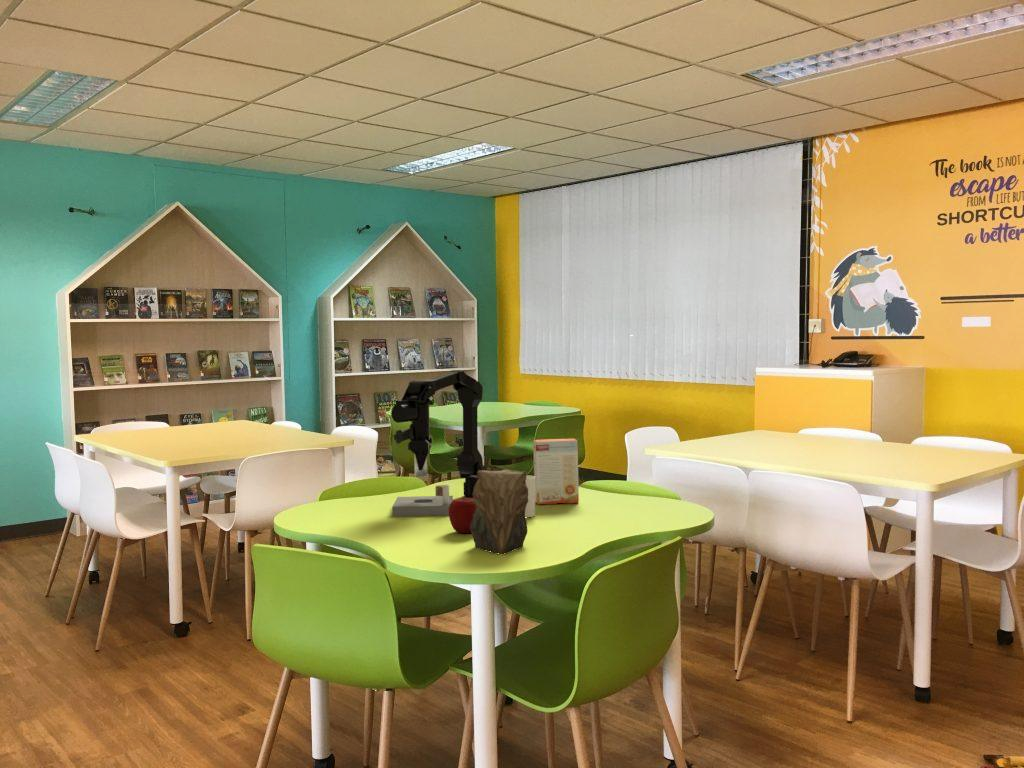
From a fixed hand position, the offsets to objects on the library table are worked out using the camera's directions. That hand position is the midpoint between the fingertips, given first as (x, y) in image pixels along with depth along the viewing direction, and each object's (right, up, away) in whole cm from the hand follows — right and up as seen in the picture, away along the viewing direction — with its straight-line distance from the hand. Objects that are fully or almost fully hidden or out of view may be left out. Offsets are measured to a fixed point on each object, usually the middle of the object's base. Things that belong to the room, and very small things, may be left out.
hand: (421, 468), depth 267 cm
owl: (+25, -16, -49) cm, 58 cm away
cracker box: (+43, -12, +9) cm, 46 cm away
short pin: (+5, -12, +15) cm, 20 cm away
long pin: (0, -2, 0) cm, 2 cm away
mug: (+31, -14, -11) cm, 36 cm away
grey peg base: (+1, -13, 0) cm, 13 cm away
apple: (+16, -15, -31) cm, 38 cm away
